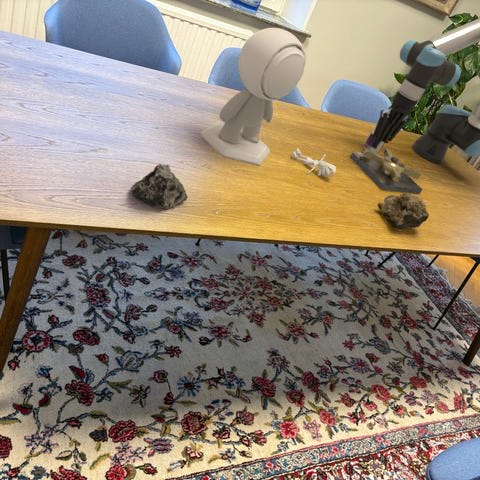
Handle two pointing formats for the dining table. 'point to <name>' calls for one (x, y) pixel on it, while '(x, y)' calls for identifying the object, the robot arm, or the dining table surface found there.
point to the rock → (160, 188)
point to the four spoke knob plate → (391, 165)
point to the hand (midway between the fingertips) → (371, 155)
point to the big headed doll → (257, 94)
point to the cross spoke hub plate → (384, 176)
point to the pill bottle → (369, 141)
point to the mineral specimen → (404, 211)
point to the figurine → (316, 164)
